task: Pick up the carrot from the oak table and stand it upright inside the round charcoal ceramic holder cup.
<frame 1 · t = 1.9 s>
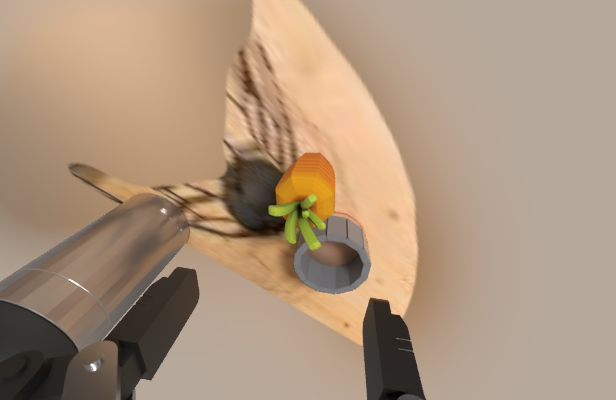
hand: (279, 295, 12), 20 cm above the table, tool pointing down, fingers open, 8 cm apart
holder cup: (332, 240, 34), on the table
carrot: (316, 158, 29), on the table
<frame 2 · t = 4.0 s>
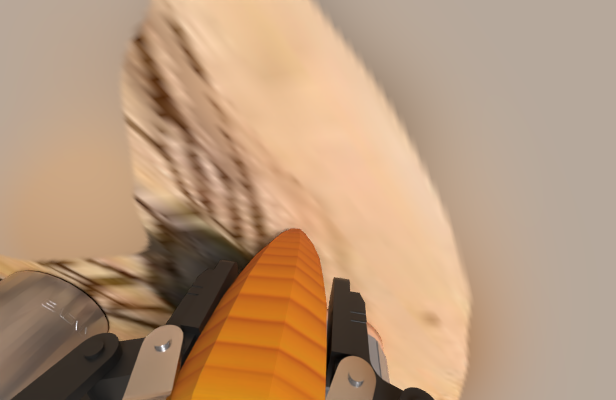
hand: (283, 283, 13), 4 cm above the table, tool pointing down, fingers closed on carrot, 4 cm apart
holder cup: (328, 345, 21), on the table
carrot: (297, 230, 17), on the table, touching gripper
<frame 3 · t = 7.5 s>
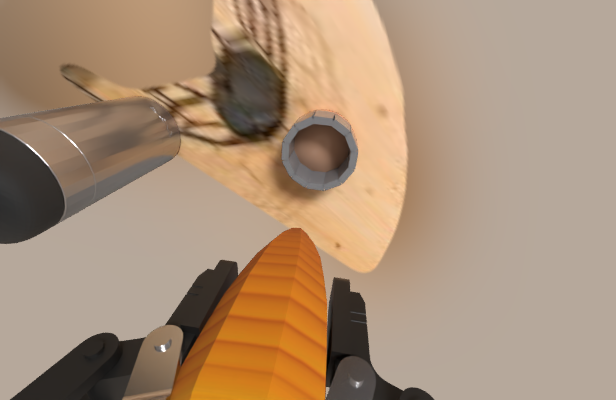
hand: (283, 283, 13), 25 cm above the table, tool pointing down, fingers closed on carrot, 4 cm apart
holder cup: (322, 143, 34), on the table
carrot: (298, 229, 17), point 20 cm above the table, touching gripper
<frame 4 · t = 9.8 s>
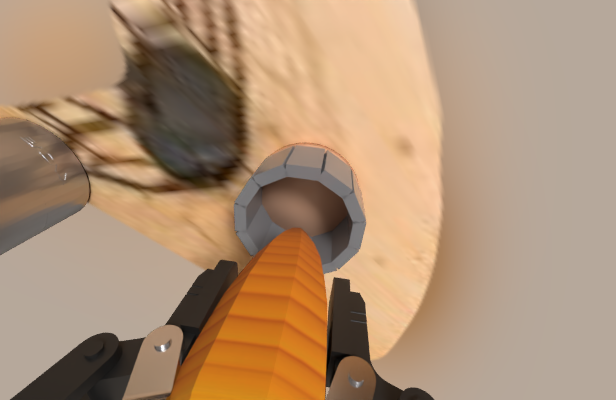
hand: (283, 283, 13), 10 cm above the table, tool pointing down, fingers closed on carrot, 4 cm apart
holder cup: (306, 193, 22), on the table
carrot: (299, 229, 17), point 6 cm above the table, touching gripper
when the fingers open (7 cm above the table, at t = 11.4 s): carrot drops 2 cm, resting on holder cup.
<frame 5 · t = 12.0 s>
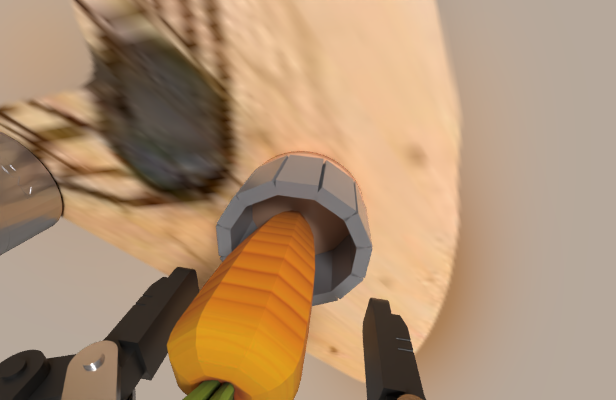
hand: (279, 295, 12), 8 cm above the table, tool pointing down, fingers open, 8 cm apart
holder cup: (303, 208, 19), on the table
carrot: (297, 212, 18), point 1 cm above the table, touching holder cup
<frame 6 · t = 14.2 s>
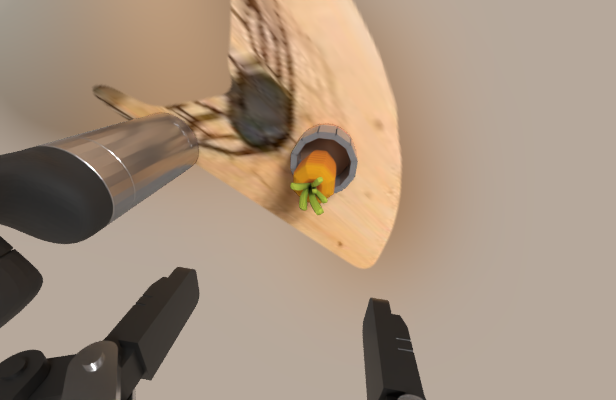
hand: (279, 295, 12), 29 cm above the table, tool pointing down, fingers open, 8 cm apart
holder cup: (325, 153, 38), on the table
carrot: (322, 154, 38), point 1 cm above the table, touching holder cup
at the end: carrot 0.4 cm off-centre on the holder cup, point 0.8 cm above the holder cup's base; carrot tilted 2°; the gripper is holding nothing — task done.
